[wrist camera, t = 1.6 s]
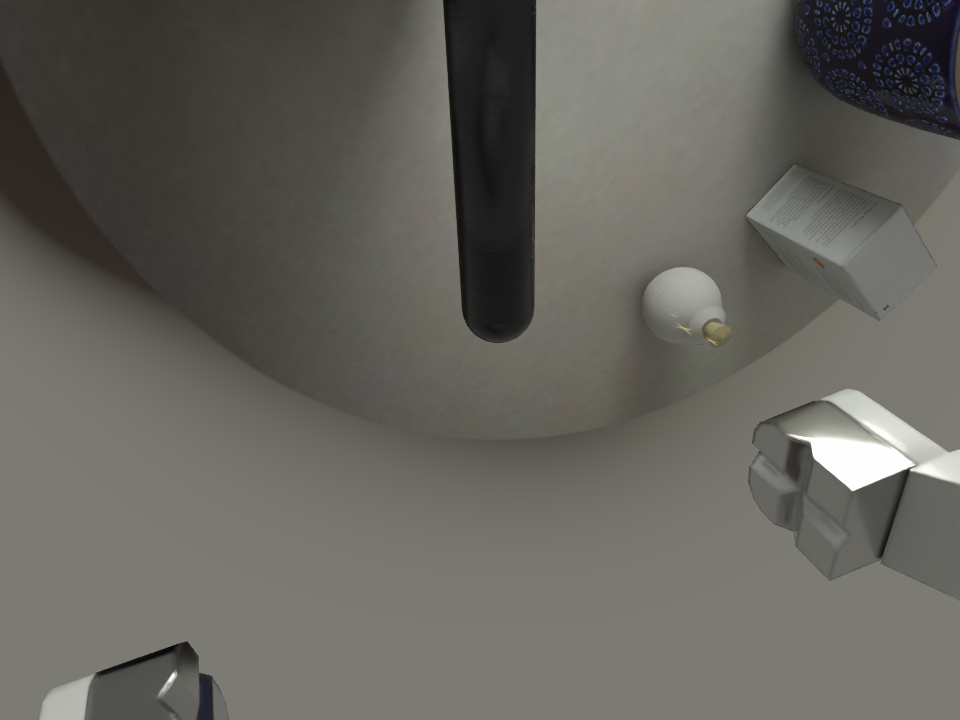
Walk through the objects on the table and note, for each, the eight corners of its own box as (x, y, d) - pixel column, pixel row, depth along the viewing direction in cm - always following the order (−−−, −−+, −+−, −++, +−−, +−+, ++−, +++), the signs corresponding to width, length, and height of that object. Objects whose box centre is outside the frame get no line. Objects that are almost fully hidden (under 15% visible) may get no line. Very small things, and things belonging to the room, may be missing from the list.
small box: (832, 218, 58) (940, 267, 49) (784, 268, 59) (882, 324, 51) (793, 160, 53) (905, 203, 45) (742, 215, 54) (842, 267, 46)
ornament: (671, 327, 58) (746, 390, 50) (602, 313, 55) (671, 378, 47) (704, 263, 56) (789, 319, 48) (634, 244, 52) (712, 300, 44)
